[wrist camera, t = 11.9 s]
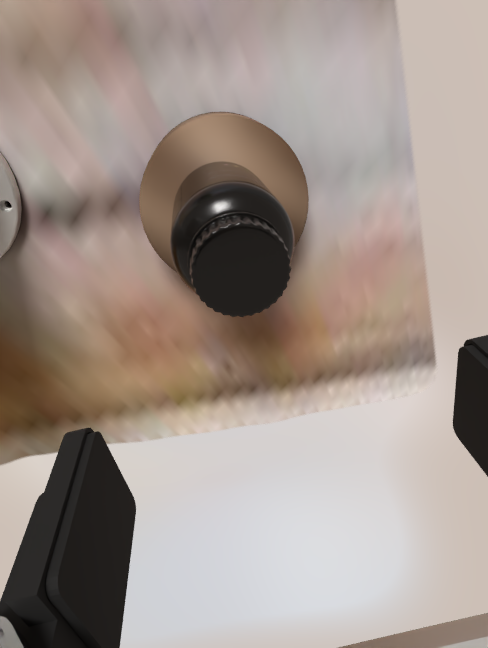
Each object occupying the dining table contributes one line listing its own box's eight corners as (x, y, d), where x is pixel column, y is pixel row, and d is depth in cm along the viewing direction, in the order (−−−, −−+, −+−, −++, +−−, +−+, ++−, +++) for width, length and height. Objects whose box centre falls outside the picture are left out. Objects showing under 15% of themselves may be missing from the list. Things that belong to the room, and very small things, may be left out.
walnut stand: (232, 292, 38) (237, 313, 34) (114, 209, 33) (105, 223, 30) (326, 183, 34) (342, 194, 30) (207, 72, 29) (210, 70, 26)
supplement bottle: (256, 262, 32) (288, 346, 22) (167, 246, 31) (155, 327, 20) (280, 170, 29) (331, 217, 19) (182, 147, 28) (178, 184, 17)
